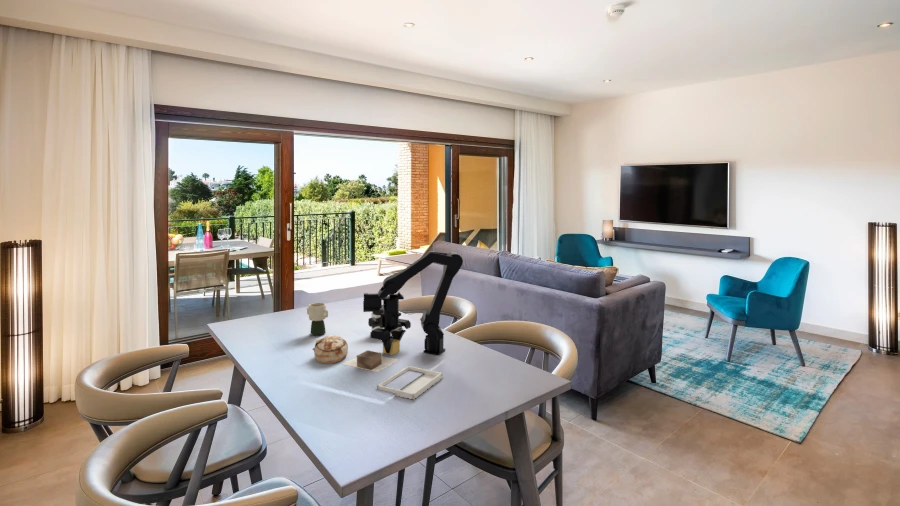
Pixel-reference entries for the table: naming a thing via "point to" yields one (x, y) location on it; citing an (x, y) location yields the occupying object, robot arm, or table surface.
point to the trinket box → (330, 349)
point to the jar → (377, 314)
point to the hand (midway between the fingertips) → (391, 351)
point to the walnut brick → (369, 360)
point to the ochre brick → (393, 347)
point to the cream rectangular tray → (413, 383)
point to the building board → (385, 363)
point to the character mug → (317, 317)
